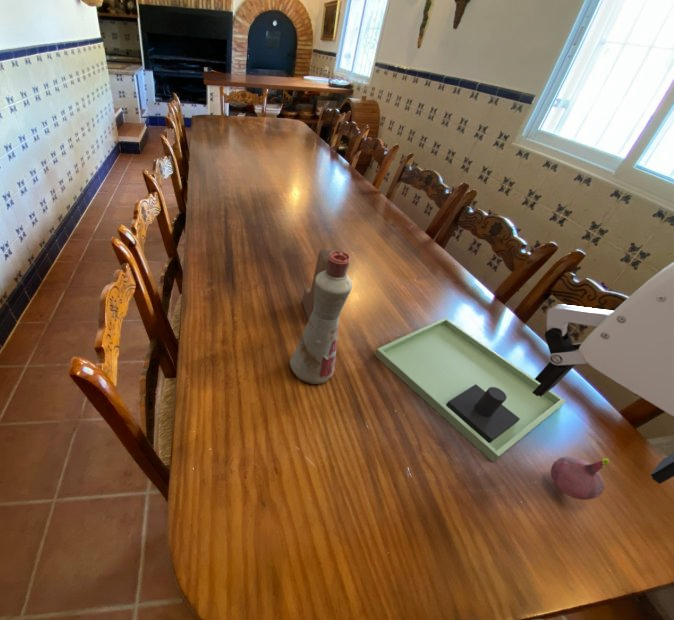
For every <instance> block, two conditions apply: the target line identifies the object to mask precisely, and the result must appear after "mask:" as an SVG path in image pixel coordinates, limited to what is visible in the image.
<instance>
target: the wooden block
mask: <svg viewBox="0 0 674 620" xmlns="http://www.w3.org/2000/svg"><path fill="white" fill-rule="evenodd" d="M318 251H319V252H318V256H317V259H316V265H315V269H314V274H313V278H312V282H311V287H305V288H304V290H303V295H302V300H301V302H302V306H303V310H304V312H305V316H306V319H307V322H308V321H309V318H310V316H311V314H312V311H313V309H314V290H315V278H316V276H317V275H318V274H319V273H320V272H322V271H325V270H326V269H327V264H328V255H329V254H330V253H331V252H333V251H339V250H333V249H332V250H331V249H330V250H329V249H320V250H318Z"/></svg>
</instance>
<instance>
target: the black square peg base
mask: <svg viewBox="0 0 674 620" xmlns="http://www.w3.org/2000/svg"><path fill="white" fill-rule="evenodd" d="M505 400H506V394H505V393H504V392H503V391H502V390H500V389H499V388H496V387H490V388H489V389H488V390H487V391H486V392H485V391H484V390H483V389H481V388H480V387H479V386H478V385H476V384H475V385H474V386H472V387H470V388H469V389H467V390H466V391H464V392H462V393H461V394H459V395H458V396H456V397H455V398H453V399H451V400H450V401H448V402H447V404H446V406H447V407H448V408H449V409H451V410H452V411H453V412H454V413H455V414H456V415H457V416H459V417H460V418H461V419H462V420H463V421H464V422H465V423H467V424H468V425H469V426H470V427H471V428H472V429H473V430H475V431H476V432H477V433H478V434H479V435H480V436H481V437H483V438H484V439H485V440H486V441H487V442H488V443H491V442H492V441H493V440H494V439H496V438H497V437H498V436H500V435H501V434H502V433H504V432H505V431H506V430H507V429H509V428H510V427H511V426H513V425H514V424H515V423H517V422H518V421H519V420H520V418H519V417H517V416H516V415H515V414H513V413H512V412H511V411H510V410H508V409H507V408H506V407H504V406H503V405H502V403H503V402H504V401H505Z"/></svg>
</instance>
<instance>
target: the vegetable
mask: <svg viewBox="0 0 674 620" xmlns="http://www.w3.org/2000/svg"><path fill="white" fill-rule="evenodd" d="M609 463H610V459H609V458H608V457H607V458H606V457H605V458H602V459H601V460H598V461H595V462H594V463H590V462H588V461H586V460H585V459H582V458H579V457H574V456H562V457H561V456H560V457H559V458H557V459H556V460H555V461H553V463H552V465H551V467H550V476H551V479H552V481H553V484H554V485H555V486H556V487H557V488H558V490H560V492H562V493H563V494H565V495H567V496H568V497H571V498H573V499H577V500H581V501H589V500H594V499H597V498H599V497H600V496H601V495H602V494H603V492H604V490H605V483H604V479H603V476H602V475H601V474H600V471H601V470H602V469H603V468H605V466H607V465H608V464H609Z"/></svg>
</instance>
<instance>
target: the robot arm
mask: <svg viewBox="0 0 674 620" xmlns="http://www.w3.org/2000/svg"><path fill="white" fill-rule="evenodd" d="M545 322H546V325H545V327H546V330H545V333H544V338H545V341H546V344H547V348H548V350H549V353H550V354H549V356H548V361H549V362H548V363H547V365H545V366H544V367H543V369H542V370H541V371H540V372H539V373H538V374H537V376H536V377H534V379H535V380H536V381H538V382H539V383H541V384H540V385H539V386H538V387H537V388H536V389H535V390H534V391H533V392H532V393H533V394H535V395H536V396H540V397H541V396H542V395H544V394H545V393H546V392H548V391H549V390H552V389H553V388H554V387H555V386H557V385H558V384H559V383H560V382H561V380H562V379H564V378H565V376H566V375H567V374H569V372H570V371H571V370H572V369H573V368H575V366H576V365H589V366H590V367H592V368H593V369H594V370H596V371H598V372H599V373H601V374H602V375H604V376H606V377H608V378H609V379H610V380H612V381H614V382H616V383H617V384H619V385H620V386H622V387H624V388H626V389H627V390H628V391H630V392H632V393H634V394H635V395H637V396H638V397H639V398H642V399H643V400H645V401H647V402H648V403H650V404H652V405H653V406H655V407H656V408H658V409H660V410H661V411H663V412H665V413H666V414H668V415H670V416H672V417H673V418H674V261H672V262H671V263H669V264H668V265H666V266H665V267H664V268H662V269H661V270H660V271H658V272H657V273H656V274H655V275H653V276H652V277H651V278H649V279H648V280H646V281H645V282H644V283H643V284H642V285H641V286H640V287H639V288H638V289H636V290H635V291H633V293H632V294H630V295H629V296H628V297H627V298H626V299H625V300H624V301H623V302H622V303H621V304H619V306H617V307H616V308H615V309H614V310H609V309H601V308H592V307H584V306H577V305H567V304H561V303H559V304H555V305H553V306H551V307H550V308H548V309H547V311H546V321H545ZM569 324H574V325H575V324H577V325H582V326H583V325H584V326H588V327H595V328H594V329H593V330H592V331H591V332H590V333H589V334H588V335H587V336H586V337H585V339H584V340H583V341H582V342H574V343H573V341H572V338H571V334H570V332H569V329H568V326H569ZM649 475H650V477H651V479H652V480H654V481H655V482H656V483H657V484H659V485H660V484H662V483H665V482H666V481H668V480H670V479H671V478H673V477H674V452H673V453H671V454H669V455H668V456H666V457H664V458H663V459H662V460H660V462H659V463H658V464H657V466H656V467H655V468H654V469H653V470H652V472H651V473H650V474H649Z"/></svg>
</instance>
